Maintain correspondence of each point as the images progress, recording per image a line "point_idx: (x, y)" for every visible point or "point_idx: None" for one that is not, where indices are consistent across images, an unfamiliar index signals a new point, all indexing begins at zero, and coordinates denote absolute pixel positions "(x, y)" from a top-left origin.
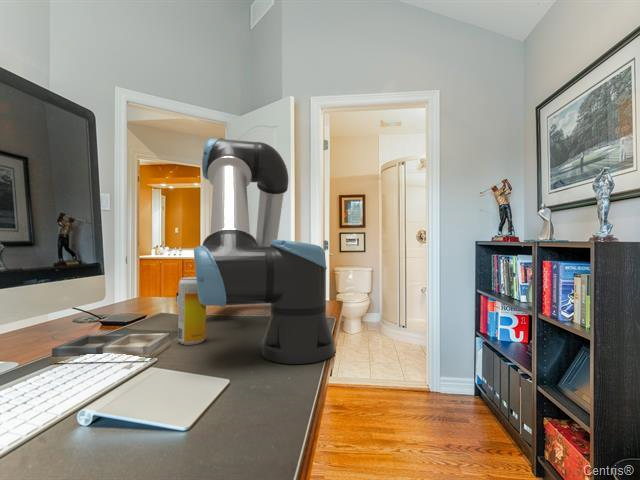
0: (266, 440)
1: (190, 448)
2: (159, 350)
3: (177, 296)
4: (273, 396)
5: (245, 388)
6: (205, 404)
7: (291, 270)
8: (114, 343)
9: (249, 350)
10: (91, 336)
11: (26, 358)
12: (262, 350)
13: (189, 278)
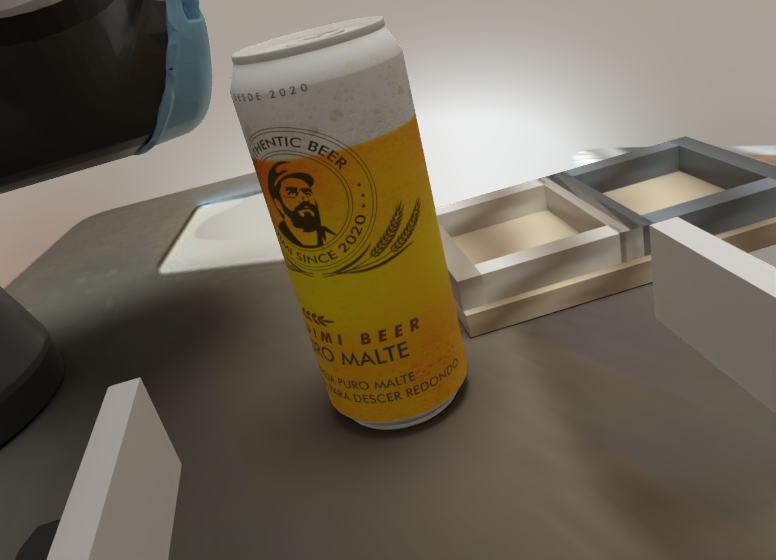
0: (104, 225)
1: (185, 200)
2: None
3: (671, 221)
4: (78, 267)
5: (126, 266)
6: (189, 229)
7: None
8: (556, 194)
9: None
10: (756, 182)
11: None
12: (56, 352)
13: (331, 33)
